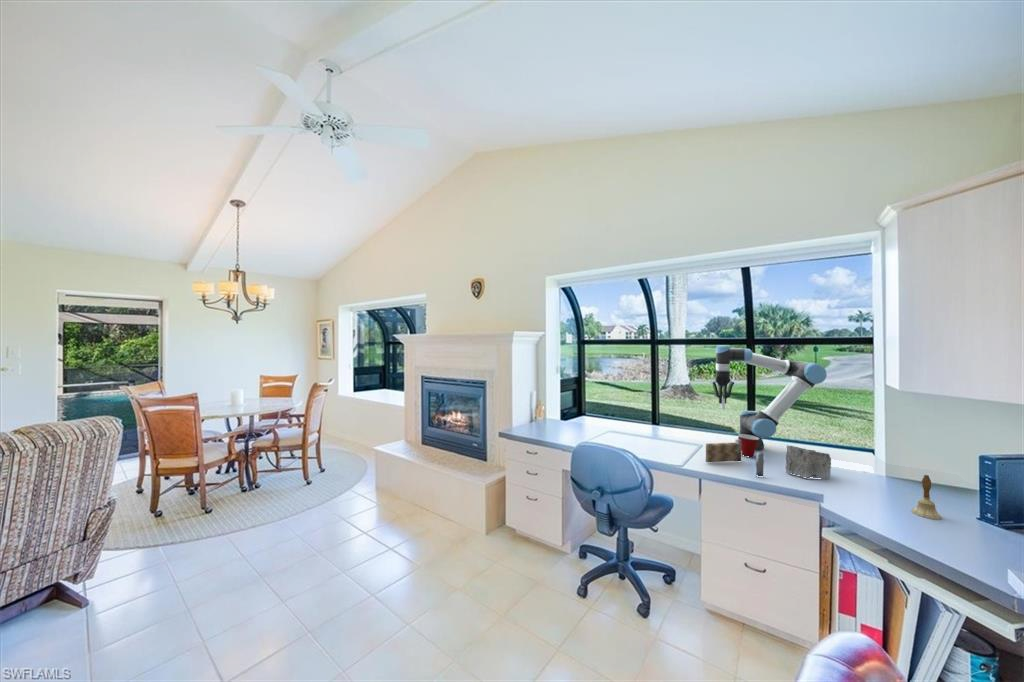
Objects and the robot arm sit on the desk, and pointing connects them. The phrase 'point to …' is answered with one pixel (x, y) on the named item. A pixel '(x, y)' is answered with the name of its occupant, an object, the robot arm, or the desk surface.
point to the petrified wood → (808, 463)
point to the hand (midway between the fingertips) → (722, 408)
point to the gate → (722, 452)
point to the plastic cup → (748, 444)
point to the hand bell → (926, 502)
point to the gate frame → (759, 459)
